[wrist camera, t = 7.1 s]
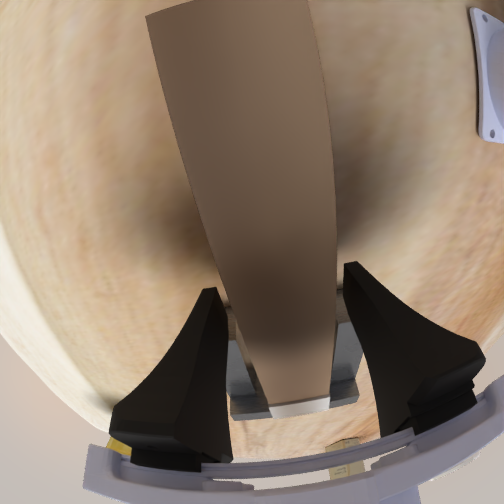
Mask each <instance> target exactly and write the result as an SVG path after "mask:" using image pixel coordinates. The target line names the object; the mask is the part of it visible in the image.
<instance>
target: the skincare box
mask: <svg viewBox="0 0 504 504" xmlns="http://www.w3.org/2000/svg"><path fill="white" fill-rule="evenodd" d="M359 444H360V443H359V439H358V438H353V439H346V440H341V441H339V442H337V443H335V444H333V445H330V446H328V447H326V448H325V449H326V452H331V451H335V450H340V449H344V448H348V447H352V446H356V445H359ZM363 472H365V468H364V463H363V460H362V461H358V462H354V463H350V464H346V465H342V466H338V467H333V468H329V474H330V480H333V479H338V478H342V477H347V476H351V475H355V474H359V473H363Z"/></svg>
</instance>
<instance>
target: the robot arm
mask: <svg viewBox="0 0 504 504" xmlns="http://www.w3.org/2000/svg"><path fill="white" fill-rule="evenodd" d="M470 16H471V21H472V26H473V32H474V38H475V45H476V52H477V62H478V74H479V136H480V138H481V139H483V140H485V141H488V142H496V143H503V144H504V23H503V22H501V21H500V20H498V19H496V18H495V17H493V16H491V15H490V14H488V13H486V12H484V11H482V10H480V9H479V8H476V7H473V8H470ZM343 298H344V302H345V306H346V309H347V312H348V315H349V318H350V320H351V323H352V325H353V328H354V330H355V332H356V335H357V337H358V340H359V342H360V345H361V347H362V350H363V352H364V355H365V358H366V361H367V365H368V369H369V373H370V377H371V381H372V385H373V390H374V395H375V400H376V406H377V412H378V419H379V426H380V436H381V438H380V439H376V440H373V441H370V442H366V443H363V444H359V445H356V446H352V447H348V448H344V449H340V450H335V451H331V452H326V453H321V454H316V455H310V456H304V457H298V458H291V459H283V460H274V461H264V462H249V463H230V462H232V460H233V454H232V447H231V440H230V431H229V422H228V410H227V394H226V373H227V358H228V343H229V328H228V316H227V313H226V311H225V308H224V306H223V303H222V301H221V298H220V295H219V293H218V290H217V288H216V287H212V288H206V289H203V290H202V292H201V294H200V296H199V298H198V300H197V302H196V304H195V306H194V308H193V310H192V312H191V313H190V315H189V317H188V319H187V321H186V323H185V324H184V326H183V328H182V330H181V331H180V333H179V335H178V336H177V338H176V339H175V341H174V343H173V344H172V346H171V347H170V349H169V350H168V351H167V353H166V354H165V356H164V357H163V358H162V360H161V361H160V362H159V363H158V365H157V366H156V367H155V368H154V369H153V371H152V372H151V373H150V374H149V375H148V376H147V377H146V378H145V379H144V380H143V381H142V382H141V383H140V384H139V385H138V386H137V387H136V388H135V389H134V390H133V391H132V392H131V393H130V394H129V395H127V396H126V397H125V398H124V399H123V400H121V401H120V402H119V403H118V404H116V405H115V406H114V409H113V412H112V417H111V422H110V428H109V434H110V435H111V437H112V438H114V439H116V440H117V441H119V442H121V443H123V444H125V445H127V446H129V447H131V448H132V450H131V456H129V455H124V454H120V453H119V452H117V451H115V450H113V449H109V448H106V447H101V446H97V445H93V444H90V445H89V448H88V454H87V460H86V467H85V473H84V480H83V481H84V482H83V488H84V489H86V490H88V491H91V492H94V493H97V494H99V495H102V496H105V497H108V498H111V499H114V500H117V501H120V502H123V503H127V504H421V502H420V496H419V492H418V485H420V484H422V483H424V482H426V481H428V480H430V479H432V478H434V477H436V476H438V475H440V474H442V473H443V472H445V471H447V470H449V469H451V468H452V467H454V466H456V465H457V464H459V463H461V462H462V461H464V460H466V459H467V458H469V457H470V456H472V455H473V454H475V453H476V452H478V451H479V450H481V449H482V448H484V447H485V446H486V445H488V444H489V443H490V442H492V441H493V440H494V439H496V438H497V437H498V436H500V435H501V434H502V433H503V432H504V375H502V376H501V377H500V378H498V379H497V380H495V381H493V382H492V383H491V384H490V385H489V386H487V387H486V388H485V390H484V391H483V392H482V393H480V394H478V395H477V396H475V395H474V392H473V390H472V389H473V388H474V386H475V385H474V383H473V381H472V379H473V378H474V377H475V376H476V375H477V374H478V373H479V371H480V370H481V369H482V367H483V366H484V364H485V362H486V358H485V356H484V354H483V352H482V350H481V349H480V347H479V345H478V344H477V342H475V341H473V340H470V339H467V338H465V337H462V336H460V335H457V334H455V333H453V332H451V331H449V330H447V329H445V328H443V327H441V326H439V325H437V324H435V323H434V322H432V321H430V320H428V319H427V318H425V317H423V316H422V315H420V314H419V313H417V312H416V311H414V310H413V309H412V308H410V307H409V306H407V305H406V304H405V303H403V302H402V301H401V300H400V299H398V298H397V297H396V296H395V295H393V294H392V293H391V292H390V291H389V290H388V289H387V288H385V287H384V286H383V285H382V284H381V283H380V282H379V281H378V280H376V279H375V278H374V277H373V276H372V275H371V274H370V273H369V272H368V271H367V270H366V269H365V268H364V267H363V266H362V265H361V264H360V263H358V262H357V261H354V262H349V263H344V277H343ZM404 446H406V447H405V448H402V449H400V450H398V451H396V452H393V453H391V454H388V455H386V456H383V457H381V458H380V459H379V461H377V462H375V463H373V464H372V465H371V470H370V471H366V472H363V473H359V474H355V475H351V476H347V477H342V478H338V479H333V480H329V481H323V482H318V483H312V484H306V485H299V486H292V487H284V488H275V489H264V490H254V486H253V485H250V484H243V483H241V482H233V481H215V480H213V479H248V478H265V477H276V476H286V475H293V474H301V473H307V472H313V471H319V470H324V469H329V468H333V467H338V466H342V465H346V464H350V463H354V462H358V461H362V460H365V459H368V458H372V457H375V456H378V455H381V454H384V453H387V452H390V451H393V450H396V449H399V448H401V447H404Z"/></svg>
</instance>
